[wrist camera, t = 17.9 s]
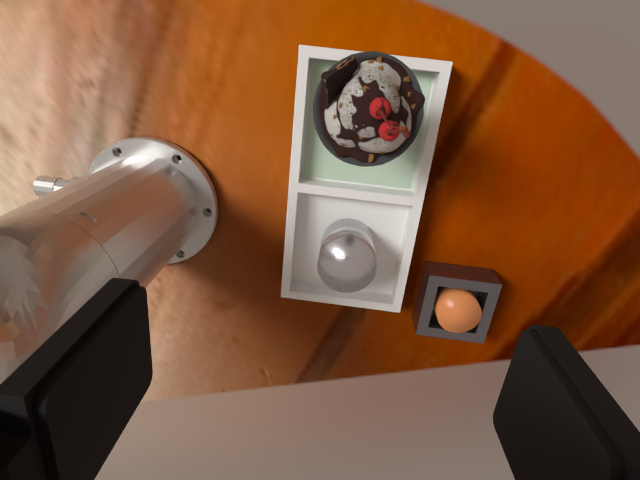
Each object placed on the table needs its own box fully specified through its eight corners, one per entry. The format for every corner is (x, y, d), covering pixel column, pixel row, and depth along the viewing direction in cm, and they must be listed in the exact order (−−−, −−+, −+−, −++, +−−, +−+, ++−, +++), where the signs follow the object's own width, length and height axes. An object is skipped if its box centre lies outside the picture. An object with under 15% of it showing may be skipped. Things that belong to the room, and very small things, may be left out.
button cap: (429, 315, 43) (433, 329, 41) (437, 280, 41) (442, 293, 39) (469, 320, 43) (475, 335, 41) (479, 286, 41) (486, 299, 39)
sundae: (409, 143, 36) (442, 173, 22) (329, 152, 37) (312, 186, 23) (404, 59, 34) (438, 31, 20) (320, 70, 35) (295, 51, 21)
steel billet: (319, 263, 42) (314, 288, 37) (324, 215, 40) (320, 236, 35) (370, 269, 42) (371, 296, 37) (378, 221, 40) (380, 244, 35)
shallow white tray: (285, 282, 44) (280, 297, 42) (303, 44, 35) (299, 44, 33) (397, 297, 44) (399, 312, 41) (445, 60, 35) (452, 61, 32)
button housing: (412, 317, 45) (415, 334, 42) (424, 260, 42) (429, 275, 39) (476, 325, 44) (483, 343, 42) (493, 269, 42) (502, 284, 39)
